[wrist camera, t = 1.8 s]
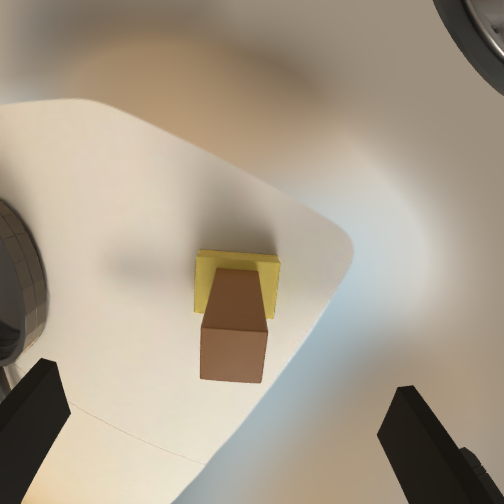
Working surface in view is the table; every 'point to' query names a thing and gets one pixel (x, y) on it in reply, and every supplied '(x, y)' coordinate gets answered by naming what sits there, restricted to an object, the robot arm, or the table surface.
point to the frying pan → (18, 289)
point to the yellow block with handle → (234, 312)
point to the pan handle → (3, 385)
